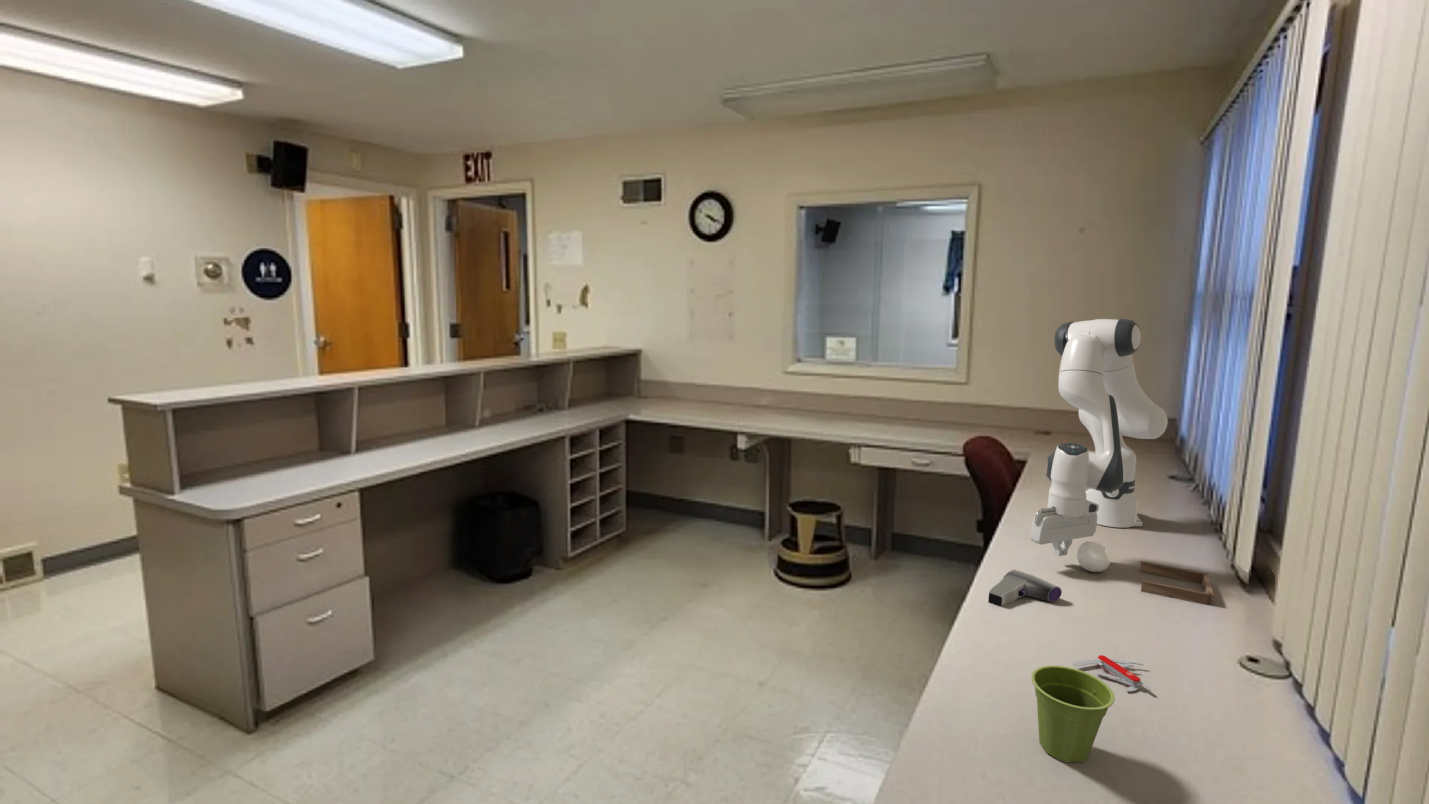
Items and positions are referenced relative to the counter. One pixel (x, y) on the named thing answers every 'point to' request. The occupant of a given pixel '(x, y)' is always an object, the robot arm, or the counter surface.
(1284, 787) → the counter surface
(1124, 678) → the swiss army knife
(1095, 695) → the plant pot
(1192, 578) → the bay
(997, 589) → the infrared thermometer
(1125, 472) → the robot arm
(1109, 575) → the counter surface
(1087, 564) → the white sculpted ball
